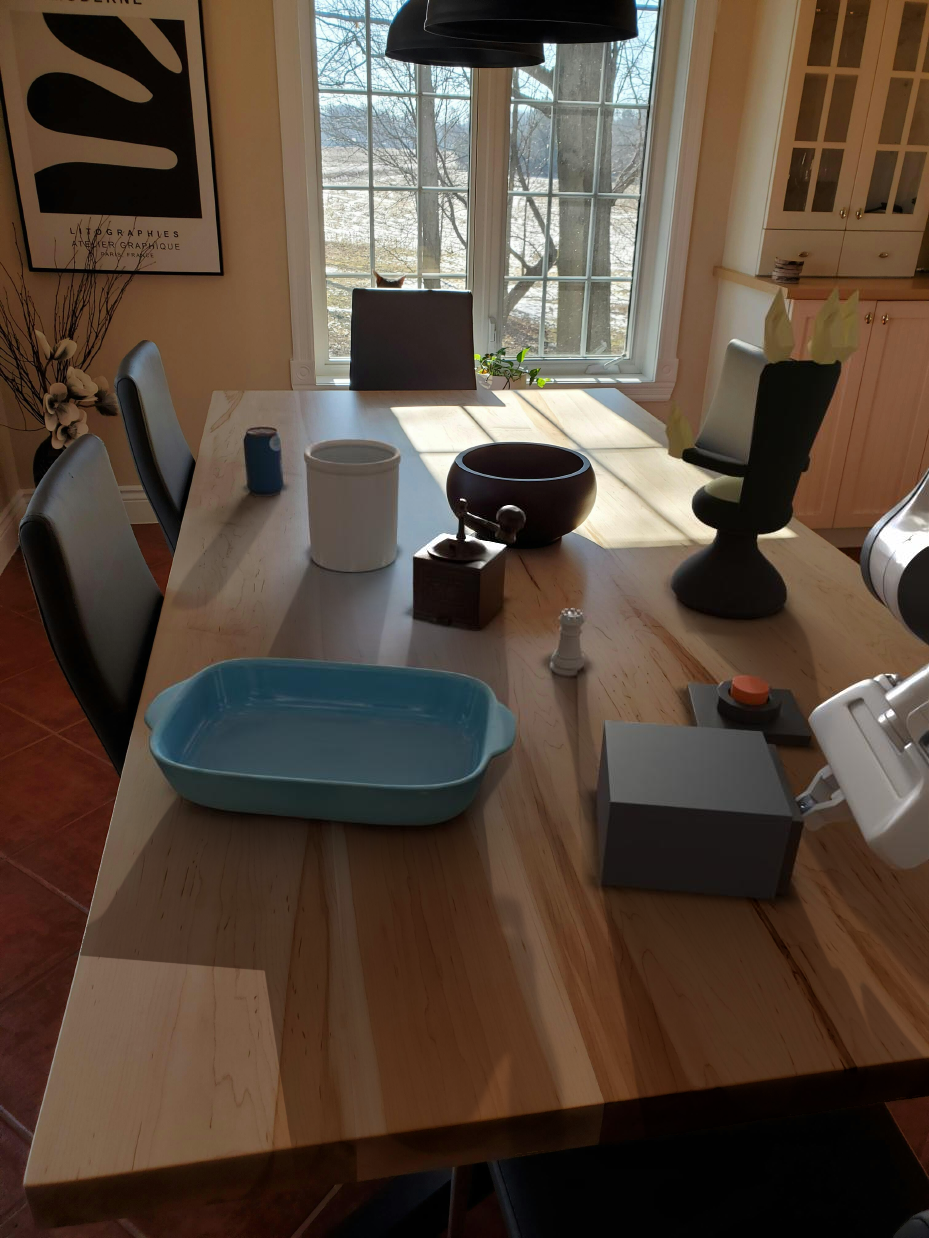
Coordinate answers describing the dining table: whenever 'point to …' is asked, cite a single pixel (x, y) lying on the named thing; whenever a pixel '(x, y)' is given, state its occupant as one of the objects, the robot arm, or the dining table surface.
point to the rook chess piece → (569, 645)
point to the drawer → (795, 826)
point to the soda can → (263, 461)
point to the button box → (749, 713)
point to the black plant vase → (762, 465)
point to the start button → (750, 690)
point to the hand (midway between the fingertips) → (801, 817)
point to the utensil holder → (353, 503)
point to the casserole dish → (329, 739)
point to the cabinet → (690, 810)
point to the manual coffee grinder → (464, 573)
